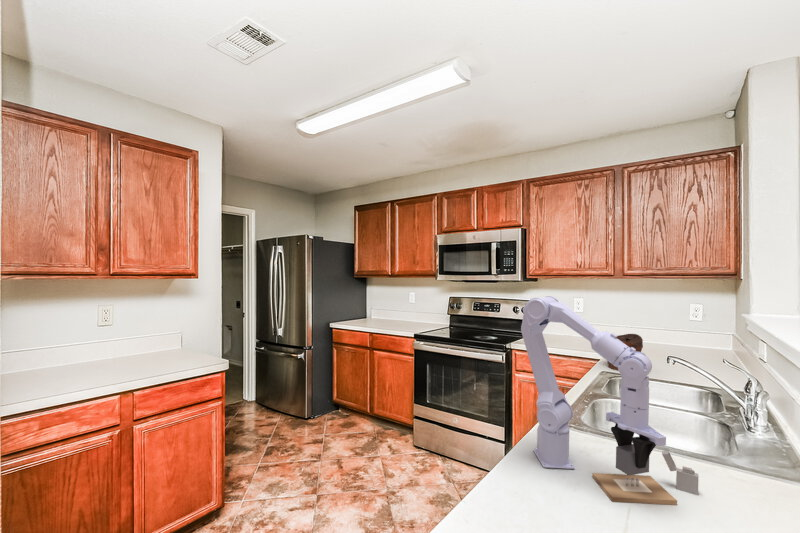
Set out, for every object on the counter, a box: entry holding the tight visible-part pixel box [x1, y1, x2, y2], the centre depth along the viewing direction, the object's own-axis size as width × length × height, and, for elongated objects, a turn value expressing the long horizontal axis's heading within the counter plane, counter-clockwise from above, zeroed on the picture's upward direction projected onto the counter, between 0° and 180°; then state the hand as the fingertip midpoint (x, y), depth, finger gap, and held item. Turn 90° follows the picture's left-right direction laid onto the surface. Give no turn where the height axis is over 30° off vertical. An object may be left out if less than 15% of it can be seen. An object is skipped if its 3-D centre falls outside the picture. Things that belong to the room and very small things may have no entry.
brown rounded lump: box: [607, 333, 644, 371], centre depth 201 cm, size 18×20×18 cm
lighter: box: [661, 450, 699, 496], centre depth 92 cm, size 7×2×8 cm, turn 53°
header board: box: [591, 472, 678, 506], centre depth 91 cm, size 10×14×3 cm
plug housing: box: [615, 443, 650, 476], centre depth 91 cm, size 4×6×5 cm, turn 106°
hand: (632, 462), depth 91 cm, fingers closed on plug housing, 4 cm apart
